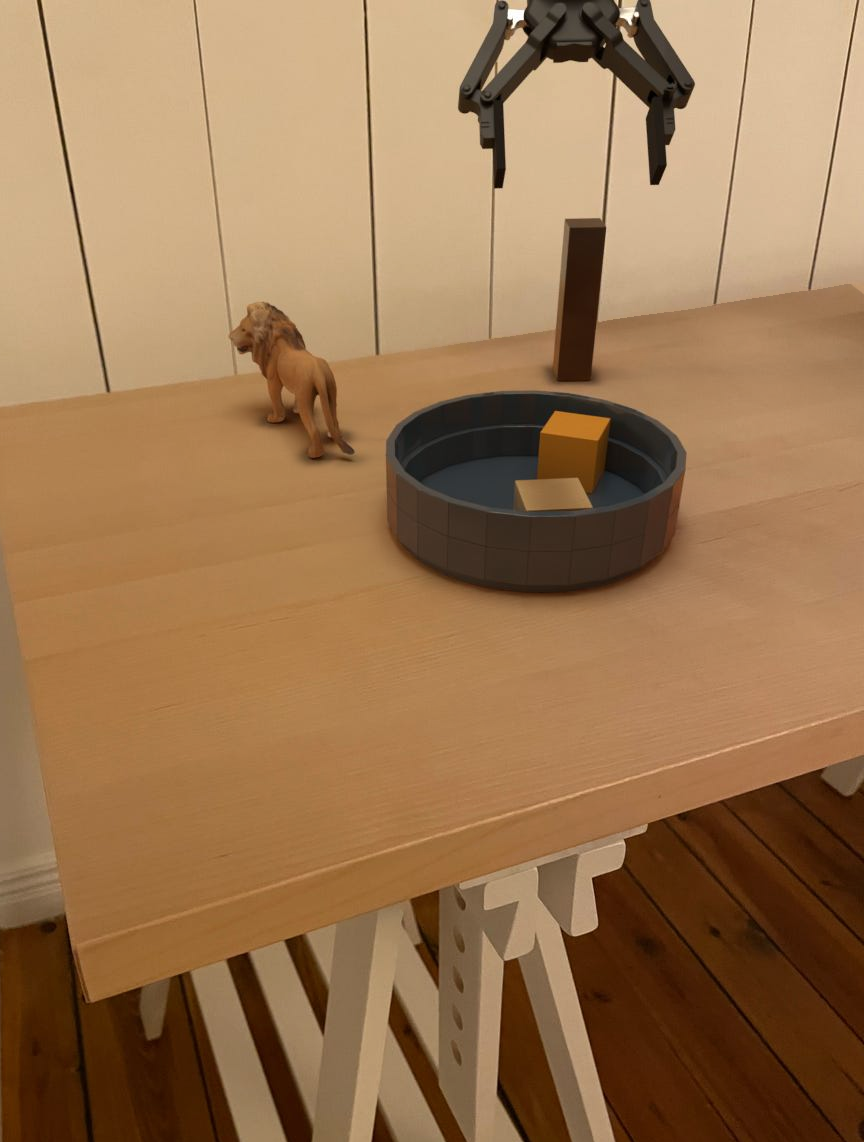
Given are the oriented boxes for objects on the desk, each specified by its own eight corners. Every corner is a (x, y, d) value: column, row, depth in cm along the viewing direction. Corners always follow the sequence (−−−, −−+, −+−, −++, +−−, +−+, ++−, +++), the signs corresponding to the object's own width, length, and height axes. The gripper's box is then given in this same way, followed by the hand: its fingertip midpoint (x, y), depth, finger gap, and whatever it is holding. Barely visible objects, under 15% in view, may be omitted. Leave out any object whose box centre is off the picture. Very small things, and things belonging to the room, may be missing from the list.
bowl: (640, 458, 76) (650, 388, 73) (705, 594, 61) (722, 513, 58) (387, 461, 77) (386, 392, 73) (387, 599, 61) (385, 518, 58)
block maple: (572, 533, 65) (578, 477, 63) (586, 565, 62) (593, 507, 60) (511, 536, 65) (514, 480, 63) (522, 568, 62) (526, 510, 60)
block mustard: (604, 470, 73) (610, 418, 71) (592, 494, 70) (598, 440, 68) (550, 462, 74) (554, 410, 72) (536, 485, 71) (540, 432, 69)
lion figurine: (230, 410, 85) (218, 303, 80) (283, 395, 88) (275, 290, 83) (326, 469, 76) (319, 352, 70) (383, 451, 78) (381, 336, 73)
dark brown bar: (585, 368, 92) (600, 217, 84) (590, 380, 89) (606, 226, 82) (552, 369, 92) (564, 218, 84) (556, 381, 89) (569, 227, 82)
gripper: (695, -8, 94) (711, 200, 90) (427, -1, 94) (432, 206, 90) (720, -78, 86) (739, 145, 83) (429, -71, 87) (435, 152, 83)
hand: (579, 177), depth 87 cm, fingers open, 13 cm apart
